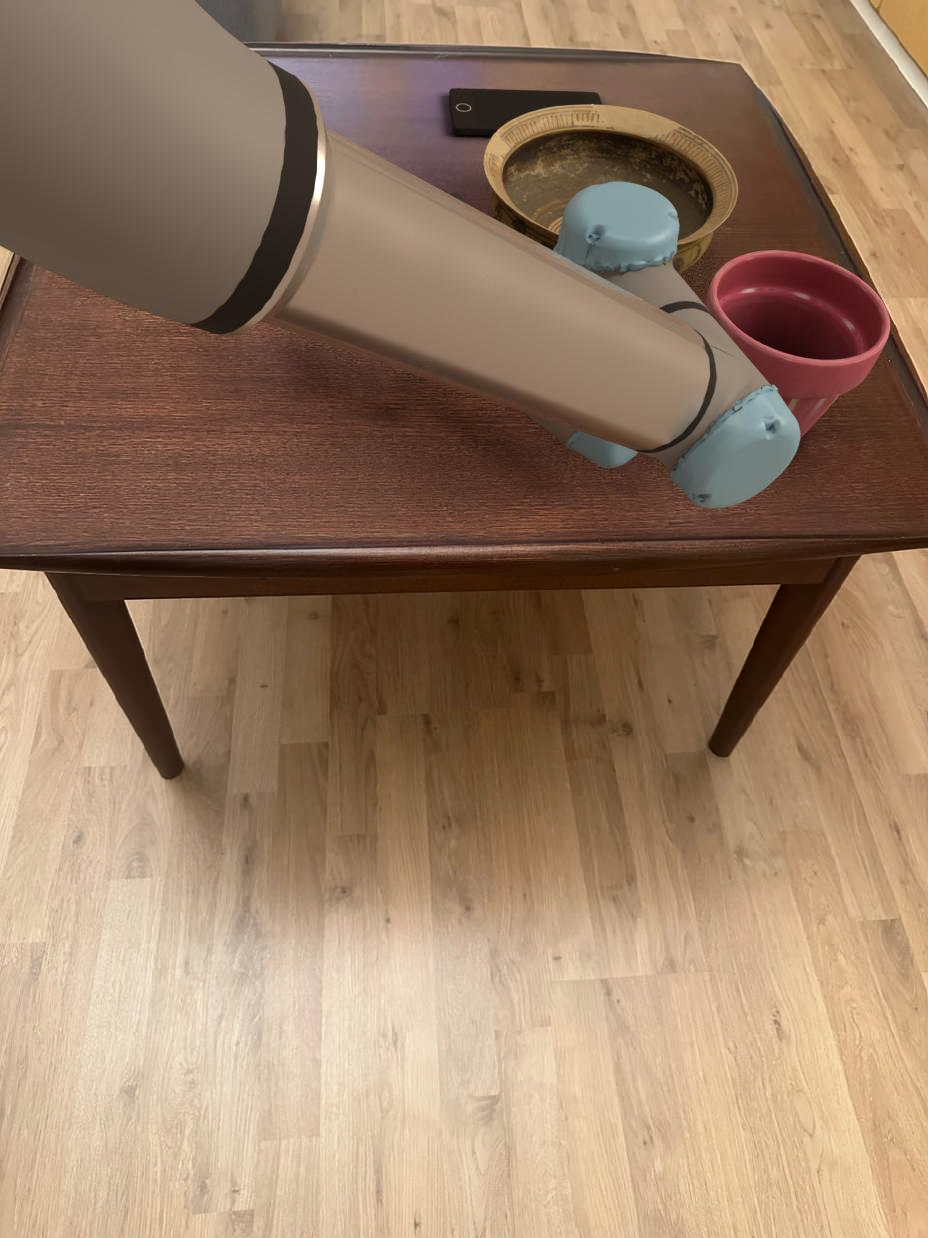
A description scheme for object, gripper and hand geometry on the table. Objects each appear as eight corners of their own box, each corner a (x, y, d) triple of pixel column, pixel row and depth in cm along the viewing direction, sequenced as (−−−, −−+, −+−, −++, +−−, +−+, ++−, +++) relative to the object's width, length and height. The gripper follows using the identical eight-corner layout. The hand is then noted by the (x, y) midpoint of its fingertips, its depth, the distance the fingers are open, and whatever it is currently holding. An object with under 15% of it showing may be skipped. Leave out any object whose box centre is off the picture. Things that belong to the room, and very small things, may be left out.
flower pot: (822, 379, 88) (881, 259, 77) (836, 491, 80) (904, 375, 69) (669, 358, 88) (708, 236, 77) (669, 468, 80) (711, 349, 70)
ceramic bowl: (746, 358, 89) (782, 266, 80) (495, 365, 86) (507, 270, 78) (671, 177, 105) (695, 85, 97) (459, 177, 103) (465, 83, 94)
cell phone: (448, 95, 112) (448, 87, 111) (597, 99, 113) (598, 91, 113) (453, 135, 107) (453, 127, 106) (608, 139, 109) (610, 131, 108)
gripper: (375, 440, 73) (205, 306, 80) (583, 303, 83) (417, 196, 91) (373, 364, 66) (190, 226, 74) (598, 227, 77) (418, 119, 85)
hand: (314, 209), depth 82 cm, fingers open, 13 cm apart
